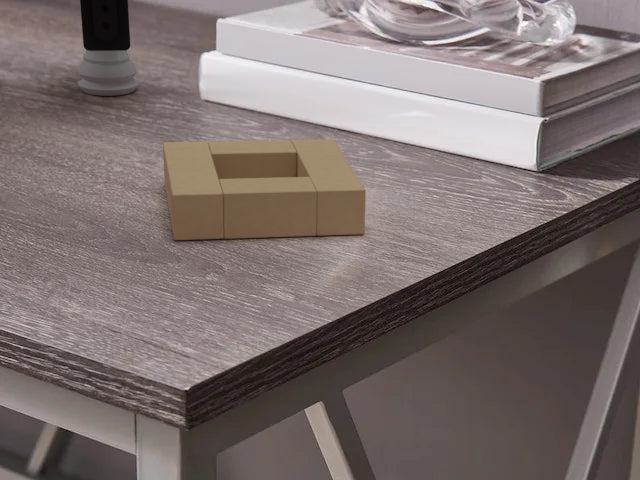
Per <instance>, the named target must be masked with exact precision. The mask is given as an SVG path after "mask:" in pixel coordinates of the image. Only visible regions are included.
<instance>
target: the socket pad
mask: <svg viewBox="0 0 640 480" xmlns="http://www.w3.org/2000/svg"><path fill="white" fill-rule="evenodd" d="M162 155H163V157H162V158H163V178H164V181H163V182H164V188H165V194H166V199H167V205H168V210H169V217H170V224H171V230H172V235H173V240H174V241H196V240H197V241H198V240H200V241H201V240H223V239H224V240H229V239H230V240H233V239H235V240H236V239H261V238H262V239H263V238H292V237H293V238H294V237H295V238H296V237H316V236H317V237H319V236H320V237H322V236H348V235H349V236H350V235H364V234H365V232H366V231H365V227H366V225H365V224H366V188H365V187H364V185H363V184H362V182H361V180H360V179H359V177H358V175H357V174H356V172H355V171H354V169H353V168H352V166H351V164H350V162H349V161H348V159H347V158H346V156H345V154H344V152H343V151H342V150H341V148H340V146H339V145H338V143H337V142H336V139H334V138H330V139H329V138H328V139H326V138H325V139H292V140H291V139H278V140H277V139H276V140H275V139H274V140H273V139H272V140H271V139H269V140H268V139H267V140H224V141H223V140H219V141H217V140H216V141H169V142H168V141H164V142H163V143H162Z"/></svg>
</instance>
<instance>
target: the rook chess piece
mask: <svg viewBox="0 0 640 480" xmlns="http://www.w3.org/2000/svg"><path fill="white" fill-rule="evenodd" d="M130 58H131V55H130V54H129V53H128V50H125V51H88V50H86V49H85V53H84V54H83V55H82V59H83V60H82V61H81V62H80V63H79V65H78V69H77V73H78V75H79V76H80V77H81V79H80V80H78V82H77V86H78V87H79V89H81V91H83V92H84V93H85V94H88V95H92V96H99V97H101V96H102V97H104V96H105V97H113V96H115V97H116V96H124V95H128V94H131V93H133V92H135V90H136V89H137V87H138V86H139V81H138V80H136V79H135V78H134V77H135V76H136V75H137V71H138V70H137V66H136V64H135V63H134V62H133V61H132V60H131V59H130Z"/></svg>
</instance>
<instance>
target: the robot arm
mask: <svg viewBox="0 0 640 480" xmlns="http://www.w3.org/2000/svg"><path fill="white" fill-rule="evenodd" d="M79 3H80V4H79V6H80V16H81V18H80V19H81V30H82V45H83V48H84V49H85V51H86V50H88V51H125V50H127V51H128V50H129V49H130V48H131V31H130V14H129V0H79Z"/></svg>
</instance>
